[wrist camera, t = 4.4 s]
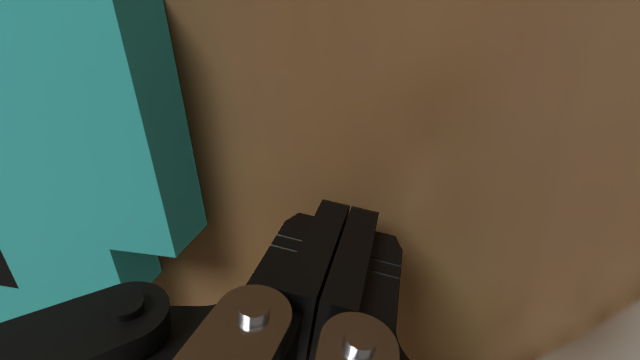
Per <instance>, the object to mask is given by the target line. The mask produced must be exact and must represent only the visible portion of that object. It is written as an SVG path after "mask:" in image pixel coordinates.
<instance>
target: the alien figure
mask: <svg viewBox="0 0 640 360" xmlns="http://www.w3.org/2000/svg"><path fill="white" fill-rule="evenodd" d="M206 226H207V220H206V215H205V210H204V205H203V200H202V195H201V190H200V185H199V180H198V175H197V170H196V164H195V159H194V154H193V149H192V144H191V139H190V134H189V129H188V124H187V119H186V114H185V109H184V104H183V99H182V94H181V89H180V84H179V78H178V73H177V68H176V63H175V58H174V53H173V48H172V43H171V38H170V33H169V28H168V23H167V18H166V13H165V8H164V3H163V0H0V323H1V322H4V321H7V320H10V319H13V318H16V317H19V316H22V315H25V314H28V313H31V312H34V311H38V310H41V309H44V308H47V307H50V306H53V305H56V304H59V303H62V302H65V301H68V300H71V299H74V298H77V297H80V296H83V295H86V294H89V293H93V292H96V291H99V290H102V289H105V288H108V287H111V286H114V285H117V284H121V283H125V282H133V281H142V282H149V283H152V282H153V281H154V280H155V279H156V278H157V277H158V276H159V274H160V273H161V272H162V269H161V266H160V262H159V258H158V256H166V257H174V258H176V257H177V256H178V255H179V254H180V253H181V252H182V251H183V250H184V249H185V248H186V247H187V246H188V245H189V243H190V242H191V241H192V240H193V239H194V238H195V237H196V236H197V235H198V234H199V233H200V232H201V231H202V230H203V229H204V228H205V227H206Z"/></svg>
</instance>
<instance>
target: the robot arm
mask: <svg viewBox="0 0 640 360" xmlns="http://www.w3.org/2000/svg"><path fill="white" fill-rule="evenodd" d="M349 209H350V206H349V205H345V204H341V203H336V202H332V201H328V200H324V199H323V200H322V202H321V204H320V206H319V208H318V210H317V212H316V214H315V216H311V215H306V214H302V213H298V214H296V215H295V216H293V217H291V218H290V219H288V220H286V221H285V222H284V224H283V226H282V227H281V229H280V231H279V232H278V235H277V236H276V237H275V239H274V240H273V242H272V244H271V246H270V247H269V248H268V250H267V252H266V253H265V255H264V257H263V258H262V260H261V261H260V263H259V265H258V266H257V268H256V270H255V271H254V273H253V275H252V276H251V278H250V279H249V281H248V283H247V284H246V285H245V286H240V287H238V288H235V289H233V290H231V291H229V292H228V293H226V294H225V295H224V296H223V297H222V298H221V299H220V300H219V301H218V303H217V304H215V305H210V306H170V302H169V297H168V295H167V293H166V292H165V291H164V290H163V289H162V288H161V287H159V286H157V285H155V284H152V283H149V282H142V281H133V282H125V283H121V284H117V285H114V286H111V287H108V288H105V289H102V290H99V291H96V292H93V293H89V294H86V295H83V296H80V297H77V298H74V299H71V300H68V301H65V302H62V303H59V304H56V305H53V306H50V307H47V308H44V309H41V310H38V311H34V312H31V313H28V314H25V315H22V316H19V317H16V318H13V319H10V320H7V321H4V322H1V323H0V360H409V359H408V357H407V356H406V355H405V353H404V352H403V350H402V348H401V347H400V345H399V342H398V339H397V335H396V323H397V311H398V298H399V286H400V274H401V262H402V249H401V247H400V245H399V243H398V241H397V239H396V237H395V236H392V235H388V234H384V233H380V232H376V231H375V230H376V225H377V220H378V215H379V212H375V211H370V210H366V209H362V208H358V207H354V206H352V207H351V210H350V213H349ZM348 215H349V216H348Z"/></svg>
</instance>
